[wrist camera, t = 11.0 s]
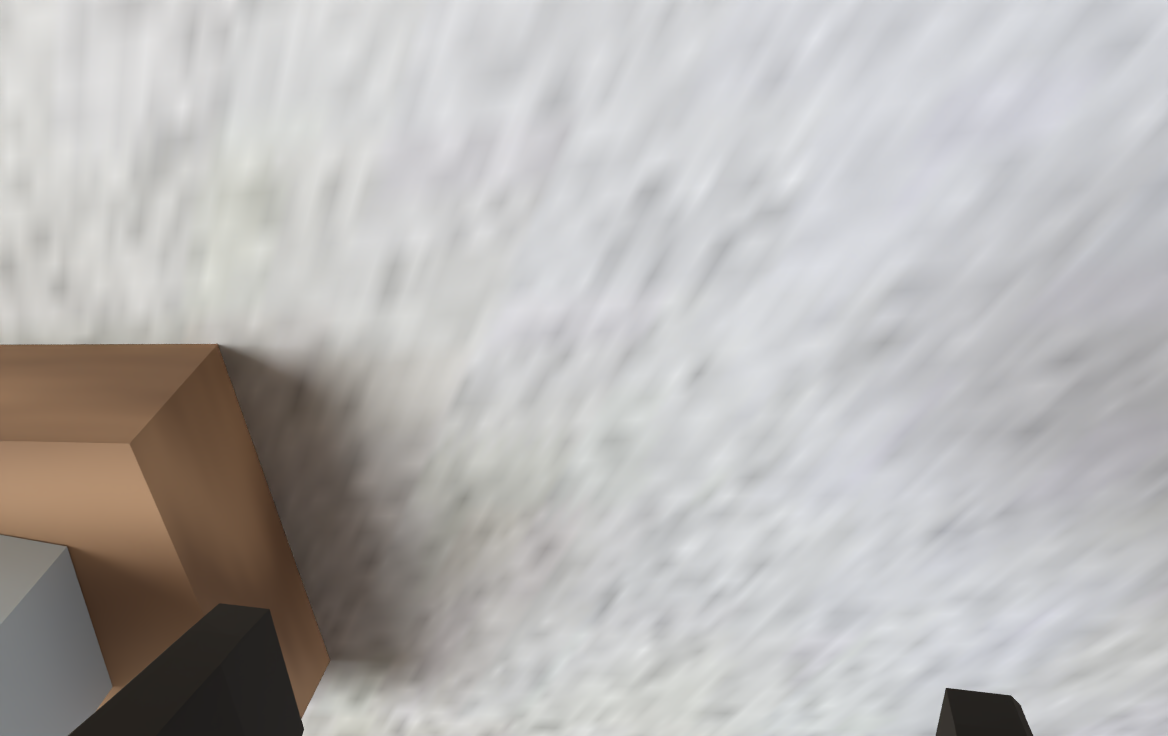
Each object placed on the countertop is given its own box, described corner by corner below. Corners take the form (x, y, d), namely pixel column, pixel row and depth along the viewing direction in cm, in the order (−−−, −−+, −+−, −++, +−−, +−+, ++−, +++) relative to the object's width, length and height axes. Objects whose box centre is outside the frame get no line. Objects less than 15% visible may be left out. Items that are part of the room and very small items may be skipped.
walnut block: (336, 649, 29) (273, 775, 26) (19, 627, 31) (-76, 741, 28) (226, 334, 24) (129, 443, 20) (-146, 335, 26) (-287, 434, 23)
